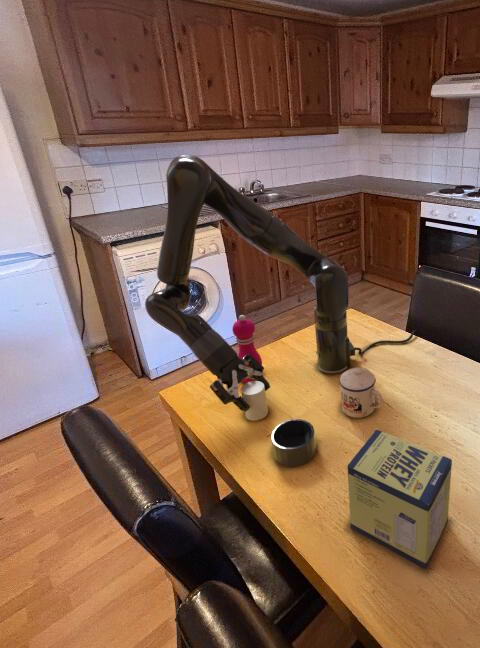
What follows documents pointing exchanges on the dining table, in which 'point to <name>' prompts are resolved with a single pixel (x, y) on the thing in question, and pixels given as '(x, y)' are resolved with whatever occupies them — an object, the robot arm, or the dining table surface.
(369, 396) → the teacup with lid
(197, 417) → the dining table surface
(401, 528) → the protein box
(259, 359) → the pepper mill
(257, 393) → the plain white cylinder
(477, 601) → the dining table surface
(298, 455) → the dark round open container
